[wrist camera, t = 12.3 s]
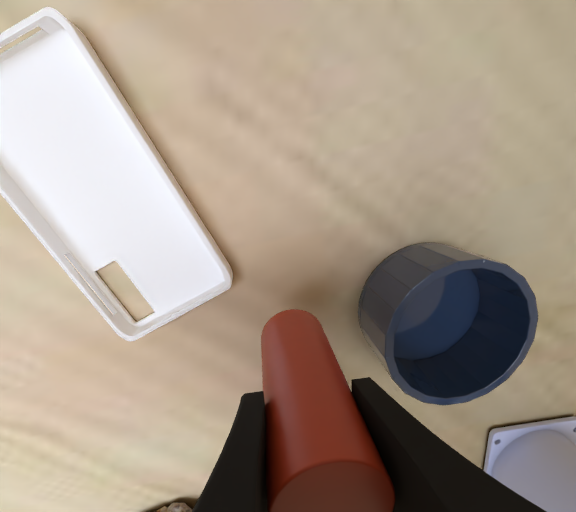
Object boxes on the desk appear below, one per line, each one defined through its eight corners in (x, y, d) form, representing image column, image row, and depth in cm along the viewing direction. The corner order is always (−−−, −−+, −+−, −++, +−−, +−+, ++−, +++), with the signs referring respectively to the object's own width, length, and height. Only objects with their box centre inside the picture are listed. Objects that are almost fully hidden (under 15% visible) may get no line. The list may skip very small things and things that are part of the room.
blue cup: (473, 353, 21) (524, 394, 17) (357, 368, 20) (382, 414, 16) (487, 237, 19) (551, 252, 15) (358, 248, 18) (387, 268, 14)
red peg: (323, 360, 14) (393, 545, 7) (263, 367, 14) (272, 568, 7) (322, 305, 13) (399, 451, 6) (258, 312, 13) (262, 471, 6)
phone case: (238, 277, 18) (73, 17, 13) (236, 285, 16) (54, -1, 12) (135, 334, 18) (-58, 94, 14) (125, 346, 16) (-92, 85, 12)
